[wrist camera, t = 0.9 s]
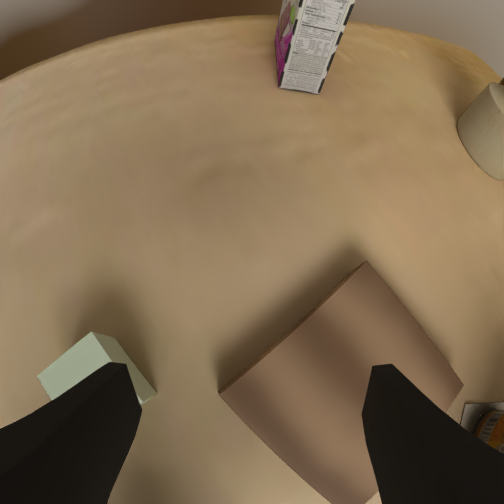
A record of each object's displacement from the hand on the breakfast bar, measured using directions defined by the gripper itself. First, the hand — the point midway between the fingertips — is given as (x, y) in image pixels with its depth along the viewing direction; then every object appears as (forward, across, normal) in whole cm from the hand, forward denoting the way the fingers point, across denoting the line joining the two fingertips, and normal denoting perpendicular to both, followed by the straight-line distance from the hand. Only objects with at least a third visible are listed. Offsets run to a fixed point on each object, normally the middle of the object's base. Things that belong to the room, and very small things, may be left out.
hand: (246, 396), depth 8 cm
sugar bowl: (+34, -31, -10) cm, 47 cm away
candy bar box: (+32, -4, -17) cm, 36 cm away
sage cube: (+8, +11, +8) cm, 16 cm away
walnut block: (+11, -6, +11) cm, 17 cm away
